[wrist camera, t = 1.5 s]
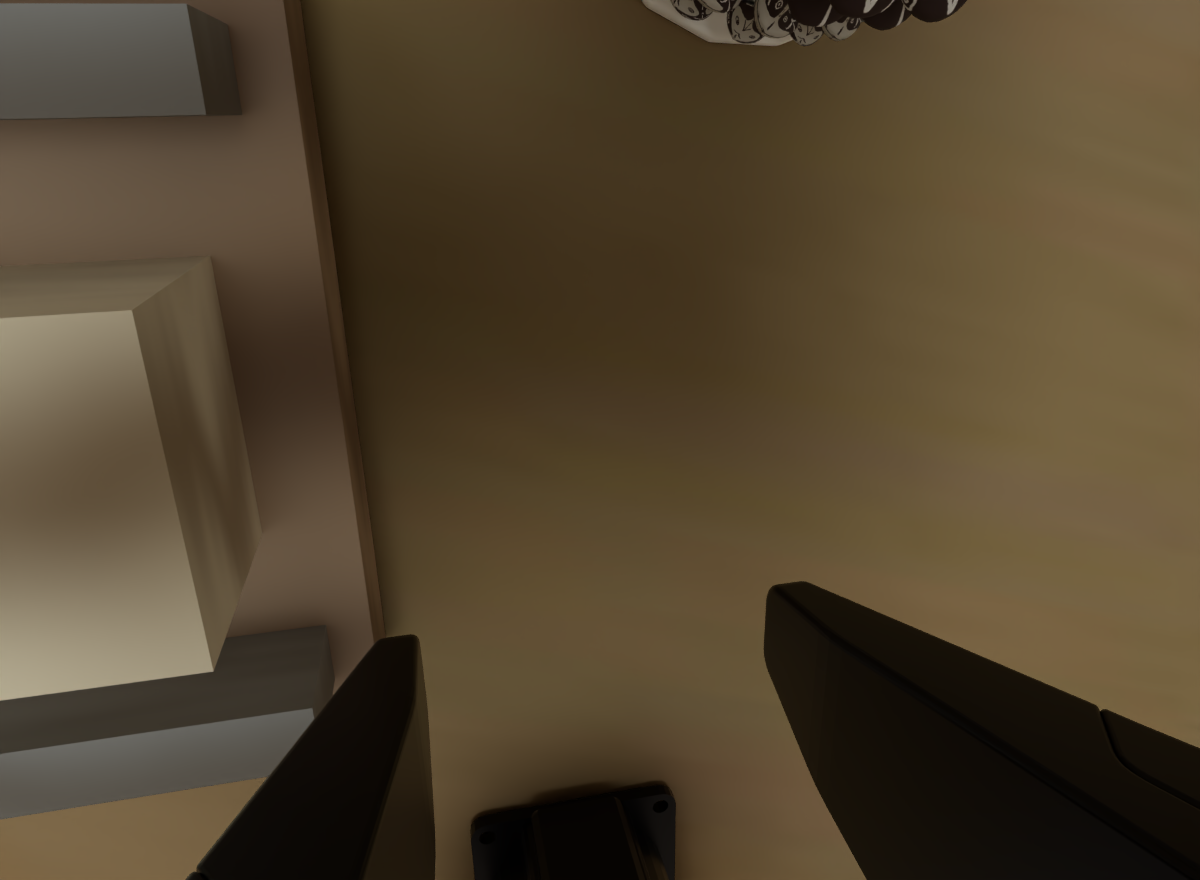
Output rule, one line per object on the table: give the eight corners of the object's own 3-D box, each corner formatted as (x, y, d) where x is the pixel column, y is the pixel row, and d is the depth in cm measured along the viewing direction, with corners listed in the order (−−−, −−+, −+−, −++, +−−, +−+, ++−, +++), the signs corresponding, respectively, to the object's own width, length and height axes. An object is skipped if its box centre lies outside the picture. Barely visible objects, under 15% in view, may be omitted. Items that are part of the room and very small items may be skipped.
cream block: (262, 533, 18) (213, 671, 14) (-46, 567, 17) (-210, 729, 13) (210, 255, 16) (131, 309, 12) (-146, 273, 15) (-388, 342, 10)
